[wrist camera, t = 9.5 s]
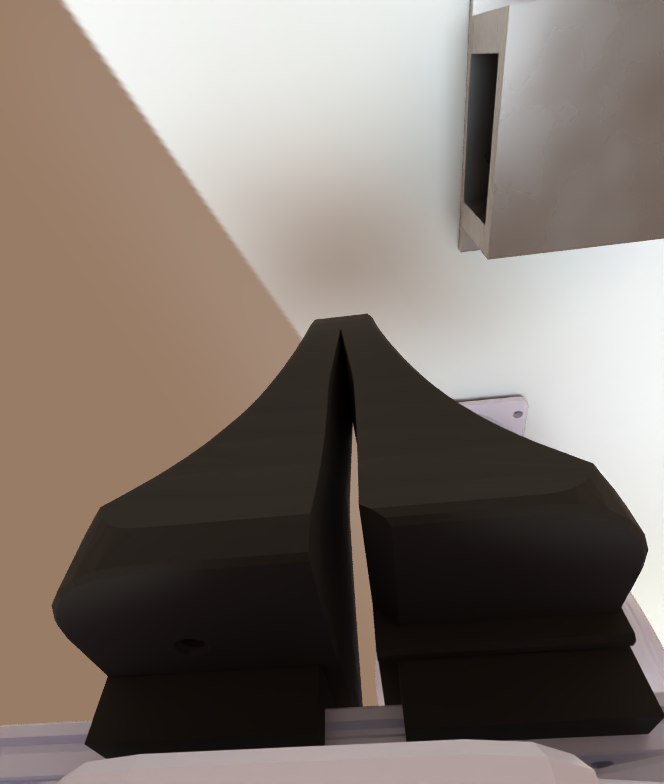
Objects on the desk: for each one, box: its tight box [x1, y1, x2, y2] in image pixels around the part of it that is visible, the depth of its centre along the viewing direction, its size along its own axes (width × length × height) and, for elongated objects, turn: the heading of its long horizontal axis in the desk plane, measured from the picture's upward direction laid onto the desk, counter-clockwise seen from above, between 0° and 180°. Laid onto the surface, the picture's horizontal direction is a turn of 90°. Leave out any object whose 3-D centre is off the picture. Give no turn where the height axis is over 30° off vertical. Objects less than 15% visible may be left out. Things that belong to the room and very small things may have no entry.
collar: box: [459, 0, 664, 259], centre depth 15 cm, size 9×9×4 cm
